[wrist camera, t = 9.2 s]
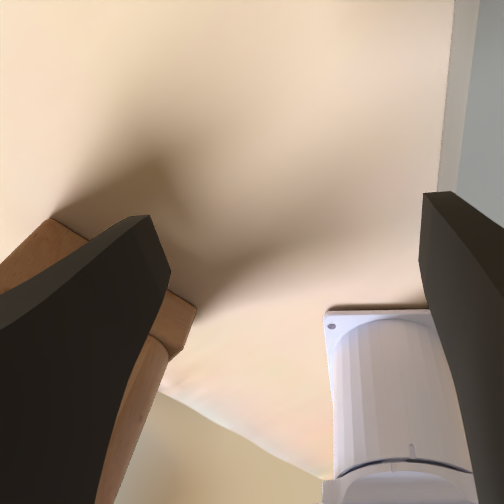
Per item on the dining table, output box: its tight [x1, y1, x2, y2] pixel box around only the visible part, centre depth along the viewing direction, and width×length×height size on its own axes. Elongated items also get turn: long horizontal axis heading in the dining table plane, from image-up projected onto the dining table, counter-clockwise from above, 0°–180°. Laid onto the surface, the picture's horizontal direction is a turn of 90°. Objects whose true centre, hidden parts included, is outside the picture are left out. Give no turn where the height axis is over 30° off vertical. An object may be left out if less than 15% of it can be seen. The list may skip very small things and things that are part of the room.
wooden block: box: [0, 219, 197, 504], centre depth 19 cm, size 4×11×18 cm, turn 54°
